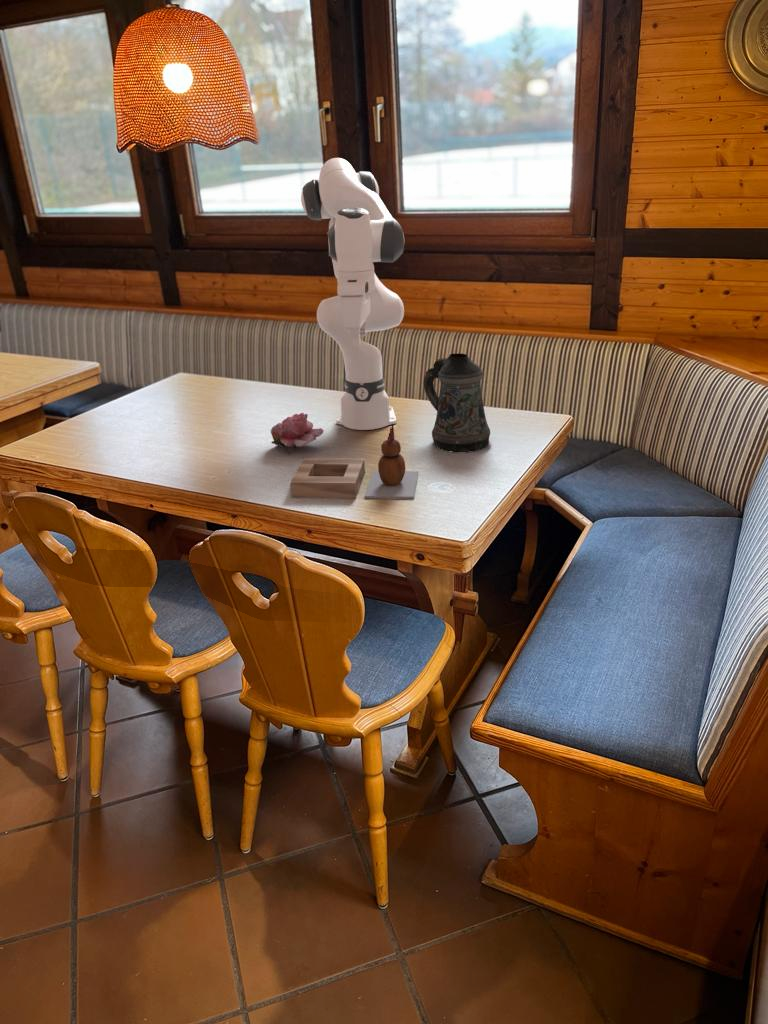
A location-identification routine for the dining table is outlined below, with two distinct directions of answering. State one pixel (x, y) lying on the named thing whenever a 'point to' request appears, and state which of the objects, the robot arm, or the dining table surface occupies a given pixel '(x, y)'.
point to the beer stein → (457, 404)
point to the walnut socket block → (328, 478)
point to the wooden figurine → (391, 461)
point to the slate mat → (392, 487)
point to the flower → (294, 431)
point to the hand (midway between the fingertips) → (359, 340)
